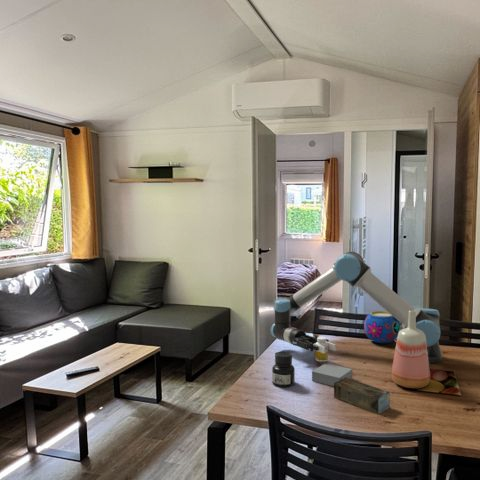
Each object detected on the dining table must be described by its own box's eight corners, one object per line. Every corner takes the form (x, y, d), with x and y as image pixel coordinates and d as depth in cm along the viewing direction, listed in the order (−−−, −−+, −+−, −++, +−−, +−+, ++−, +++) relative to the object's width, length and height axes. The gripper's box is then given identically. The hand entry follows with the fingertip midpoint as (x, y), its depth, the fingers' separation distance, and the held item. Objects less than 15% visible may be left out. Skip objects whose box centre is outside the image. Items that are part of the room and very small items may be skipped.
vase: (401, 375, 198) (403, 305, 195) (436, 384, 187) (438, 310, 185) (384, 384, 188) (385, 310, 185) (419, 394, 177) (421, 317, 175)
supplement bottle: (314, 357, 209) (314, 336, 208) (326, 357, 209) (326, 335, 209) (317, 362, 204) (317, 339, 203) (329, 361, 204) (329, 339, 203)
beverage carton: (378, 415, 161) (378, 396, 161) (332, 398, 175) (332, 381, 175) (390, 408, 167) (391, 390, 166) (345, 392, 181) (345, 375, 180)
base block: (352, 378, 194) (352, 369, 194) (339, 387, 184) (339, 377, 184) (325, 372, 201) (325, 363, 201) (312, 380, 192) (312, 371, 191)
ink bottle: (267, 383, 189) (267, 354, 188) (279, 377, 196) (279, 349, 195) (288, 389, 183) (288, 359, 182) (299, 382, 190) (299, 353, 189)
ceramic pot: (399, 348, 233) (400, 318, 231) (362, 345, 238) (362, 316, 237) (399, 339, 249) (400, 311, 248) (364, 336, 255) (365, 308, 254)
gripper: (310, 341, 226) (345, 353, 207) (279, 348, 217) (313, 361, 197) (310, 325, 226) (345, 336, 206) (279, 331, 216) (313, 344, 196)
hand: (329, 349), depth 202 cm, fingers closed on supplement bottle, 5 cm apart
